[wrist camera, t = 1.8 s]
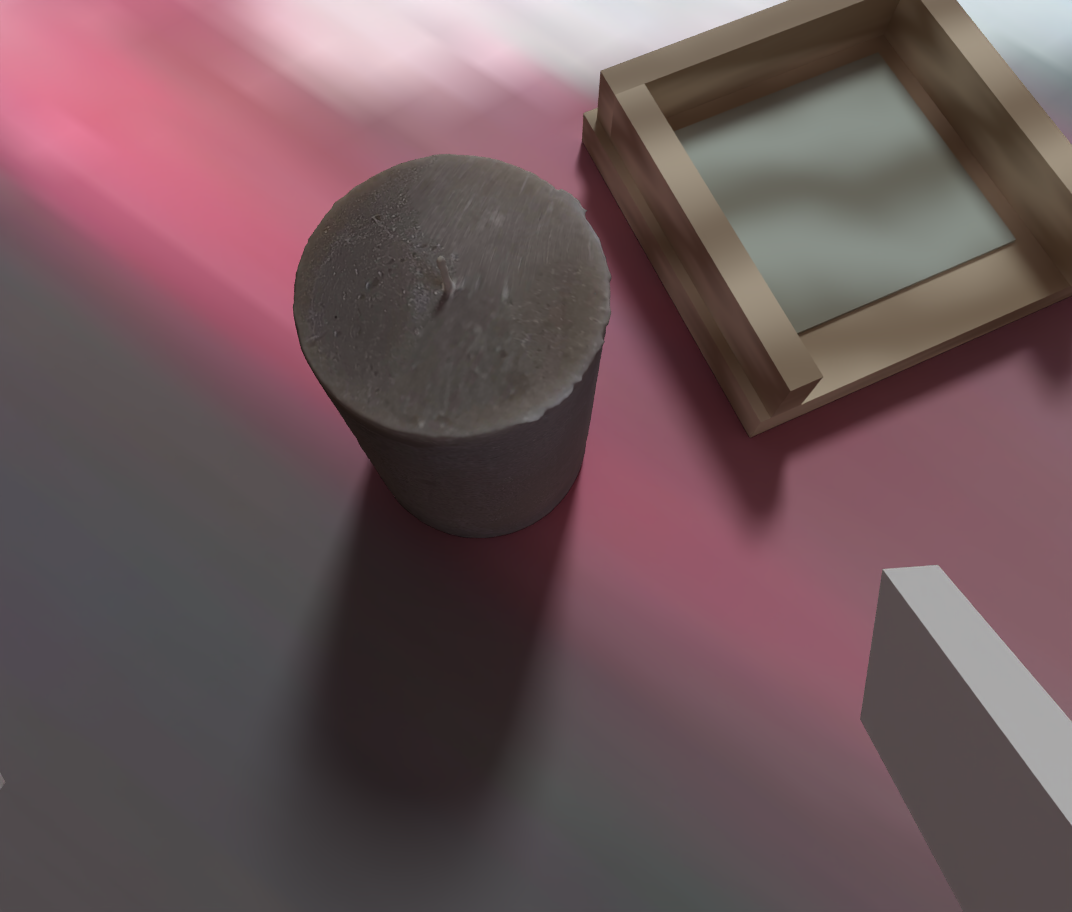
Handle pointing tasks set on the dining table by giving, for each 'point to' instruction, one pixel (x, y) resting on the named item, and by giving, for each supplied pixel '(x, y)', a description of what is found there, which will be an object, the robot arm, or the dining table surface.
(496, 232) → the pillar candle
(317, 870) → the dining table surface
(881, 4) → the wooden tray
